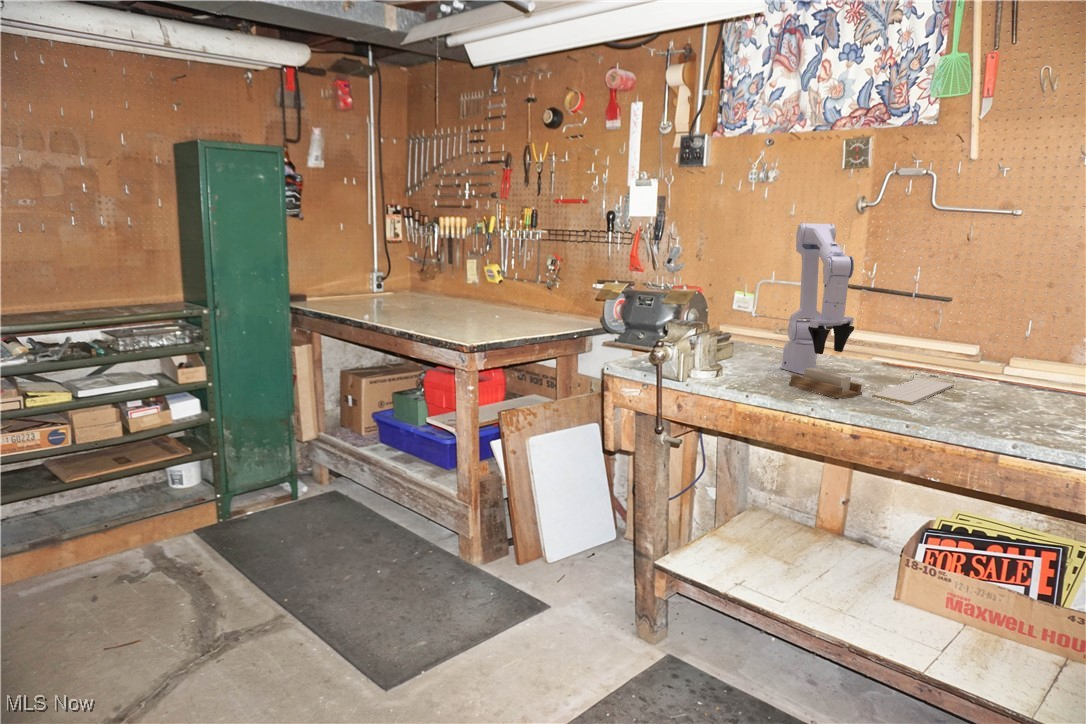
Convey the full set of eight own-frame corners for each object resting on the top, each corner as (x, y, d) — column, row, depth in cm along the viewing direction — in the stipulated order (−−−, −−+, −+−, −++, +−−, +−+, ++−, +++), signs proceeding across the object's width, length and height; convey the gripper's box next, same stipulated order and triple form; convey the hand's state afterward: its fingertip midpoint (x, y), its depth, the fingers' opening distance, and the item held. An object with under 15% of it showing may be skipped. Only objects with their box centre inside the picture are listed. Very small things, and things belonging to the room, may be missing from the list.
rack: (788, 385, 191) (790, 374, 190) (812, 381, 195) (813, 371, 195) (837, 399, 177) (838, 388, 177) (861, 395, 182) (862, 384, 181)
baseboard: (862, 397, 182) (910, 407, 173) (864, 387, 181) (912, 396, 173) (908, 380, 202) (953, 389, 194) (910, 371, 202) (955, 379, 193)
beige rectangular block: (803, 382, 190) (804, 368, 189) (812, 381, 192) (813, 367, 191) (839, 392, 180) (841, 378, 179) (849, 391, 182) (850, 376, 181)
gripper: (827, 305, 174) (822, 357, 177) (865, 302, 181) (859, 353, 184) (805, 301, 180) (800, 352, 183) (843, 299, 187) (837, 348, 190)
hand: (828, 352), depth 184 cm, fingers open, 7 cm apart
